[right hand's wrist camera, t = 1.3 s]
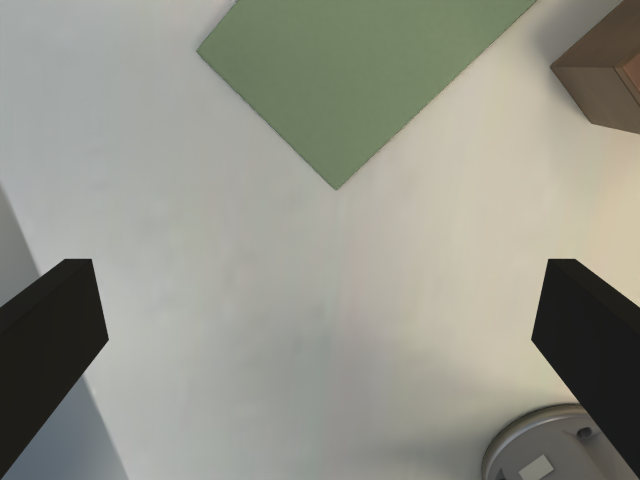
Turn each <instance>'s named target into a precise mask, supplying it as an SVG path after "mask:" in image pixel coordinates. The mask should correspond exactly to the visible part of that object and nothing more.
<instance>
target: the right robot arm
mask: <svg viewBox="0 0 640 480" xmlns="http://www.w3.org/2000/svg"><path fill="white" fill-rule="evenodd" d="M108 340H109V338H108V333H107V329H106V324H105V319H104V315H103V310H102V305H101V300H100V296H99V291H98V286H97V282H96V277H95V272H94V268H93V263H92V259H64V260H63V261H61V262H60V263H59V264H57V265H56V266H55V267H53V268H52V269H51V270H49V271H48V272H47V273H46V274H44V275H43V276H42V277H40V278H39V279H38V280H36V281H35V282H34V283H32V284H31V285H30V286H28V287H27V288H26V289H24V290H23V291H22V292H20V293H19V294H18V295H16V296H15V297H14V298H12V299H11V300H10V301H8V302H7V303H6V304H4V305H3V306H2V307H0V480H1V479H2V477H3V476H4V475H5V474H6V472H7V471H8V470H9V468H10V467H11V466H12V464H13V463H14V462H15V461H16V459H17V458H18V457H19V455H20V454H21V453H22V451H23V450H24V449H25V448H26V446H27V445H28V444H29V442H30V441H31V440H32V439H33V437H34V436H35V435H36V433H37V432H38V431H39V430H40V428H41V427H42V426H43V424H44V423H45V422H46V421H47V419H48V418H49V417H50V415H51V414H52V413H53V411H54V410H55V409H56V408H57V406H58V405H59V404H60V402H61V401H62V400H63V399H64V397H65V396H66V395H67V393H68V392H69V391H70V389H71V388H72V387H73V386H74V384H75V383H76V382H77V380H78V379H79V378H80V377H81V375H82V374H83V373H84V371H85V370H86V369H87V367H88V366H89V365H90V364H91V362H92V361H93V360H94V358H95V357H96V356H97V355H98V353H99V352H100V351H101V349H102V348H103V347H104V345H105V344H106V343H107V342H108ZM531 340H532V342H533V343H534V344H535V345H536V347H537V348H538V349H539V351H540V352H541V353H542V355H543V356H544V357H545V358H546V360H547V361H548V362H549V364H550V365H551V366H552V367H553V369H554V370H555V371H556V373H557V374H558V375H559V377H560V378H561V379H562V380H563V382H564V383H565V384H566V386H567V387H568V388H569V389H570V391H571V392H572V393H573V395H574V396H575V397H576V399H577V400H578V401H579V402H580V404H581V405H562V406H555V407H549V408H545V409H541V410H538V411H535V412H533V413H530V414H528V415H526V416H524V417H522V418H520V419H518V420H516V421H515V422H513V423H512V424H510V425H509V426H507V427H506V428H505V429H504V430H503V431H501V432H500V433H499V434H498V435H497V436H496V438H495V439H494V440H493V441H492V443H491V444H490V446H489V447H488V449H487V451H486V453H485V456H484V458H483V462H482V478H483V480H640V307H638V306H637V305H636V304H634V303H633V302H632V301H630V300H629V299H628V298H626V297H625V296H624V295H622V294H621V293H620V292H618V291H617V290H616V289H614V288H613V287H612V286H610V285H609V284H608V283H606V282H605V281H604V280H602V279H601V278H600V277H598V276H597V275H596V274H594V273H593V272H592V271H591V270H589V269H588V268H587V267H585V266H584V265H583V264H581V263H580V262H579V261H577V260H576V259H548V263H547V268H546V272H545V277H544V282H543V286H542V291H541V296H540V300H539V305H538V310H537V315H536V319H535V324H534V329H533V333H532V338H531Z"/></svg>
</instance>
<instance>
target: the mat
mask: <svg viewBox="0 0 640 480" xmlns="http://www.w3.org/2000/svg"><path fill="white" fill-rule="evenodd" d="M535 1H537V0H238V1H237V2H236V4H235V5H234V6H233V7H232V8H231V10H230V11H229V12H228V13H227V14H226V16H225V17H224V18H223V19H222V21H221V22H220V23H219V24H218V25H217V27H216V28H215V29H214V30H213V31H212V33H211V34H210V35H209V36H208V37H207V39H206V40H205V41H204V42H203V43H202V45H201V46H200V47H199V48H198V49H197V51H196V52H197V53H198V54H199V55H200V56H201V57H202V58H203V59H204V60H205V61H206V62H207V63H208V64H209V65H210V66H211V67H212V68H213V69H214V70H215V71H216V72H217V73H218V74H219V75H220V76H221V77H222V78H223V79H224V80H225V81H226V82H227V83H228V84H229V85H230V86H231V87H232V88H234V89H235V90H236V91H237V92H238V93H239V94H240V95H241V96H242V97H243V98H244V99H245V100H246V101H247V102H248V103H249V104H250V105H251V106H252V107H253V108H254V109H255V110H256V111H257V112H258V113H259V114H260V115H261V116H262V117H263V118H264V119H265V120H266V121H267V122H268V123H269V124H270V125H271V126H272V127H273V128H274V129H275V130H276V131H277V132H278V133H279V134H280V135H281V136H282V137H283V138H284V139H285V140H286V141H287V142H288V143H289V144H290V145H291V146H292V147H293V148H294V149H295V150H296V151H297V152H298V153H299V154H300V155H301V156H302V157H303V158H304V159H305V160H306V161H307V162H308V163H309V164H310V165H311V166H312V167H313V168H314V169H315V170H316V171H317V172H318V173H319V174H320V175H321V176H322V177H323V178H324V179H325V180H326V181H327V182H328V183H329V184H330V185H331V186H332V187H333V188H334V189H335V190H337V189H338V188H339V187H340V186H341V185H342V184H343V183H344V182H345V181H346V180H347V179H349V178H350V177H351V176H352V175H353V174H354V173H355V172H356V171H357V170H358V169H359V168H360V167H361V166H362V165H363V164H364V163H365V162H366V161H368V160H369V159H370V158H371V157H372V156H373V155H374V154H375V153H376V152H377V151H378V150H379V149H380V148H381V147H382V146H383V145H384V144H386V143H387V142H388V141H389V140H390V139H391V138H392V137H393V136H394V135H395V134H396V133H397V132H398V131H399V130H400V129H401V128H402V127H403V126H405V125H406V124H407V123H408V122H409V121H410V120H411V119H412V118H413V117H414V116H415V115H416V114H417V113H418V112H419V111H420V110H421V109H422V108H424V107H425V106H426V105H427V104H428V103H429V102H430V101H431V100H432V99H433V98H434V97H435V96H436V95H437V94H438V93H439V92H440V91H441V90H443V89H444V88H445V87H446V86H447V85H448V84H449V83H450V82H451V81H452V80H453V79H454V78H455V77H456V76H457V75H458V74H459V73H460V72H462V71H463V70H464V69H465V68H466V67H467V66H468V65H469V64H470V63H471V62H472V61H473V60H474V59H475V58H476V57H477V56H478V55H480V54H481V53H482V52H483V51H484V50H485V49H486V48H487V47H488V46H489V45H490V44H491V43H492V42H493V41H494V40H495V39H496V38H497V37H499V36H500V35H501V34H502V33H503V32H504V31H505V30H506V29H507V28H508V27H509V26H510V25H511V24H512V23H513V22H514V21H515V20H516V19H518V18H519V17H520V16H521V15H522V14H523V13H524V12H525V11H526V10H527V9H528V8H529V7H530V6H531V5H532V4H533V3H534V2H535Z"/></svg>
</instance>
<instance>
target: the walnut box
mask: <svg viewBox="0 0 640 480" xmlns="http://www.w3.org/2000/svg"><path fill="white" fill-rule="evenodd" d="M550 68H551V69H552V70H553V72H554V73H555V74H556V76H557V77H558V78H559V80H560V81H561V83H562V84H563V85H564V87H565V88H566V89H567V91H568V92H569V93H570V95H571V96H572V98H573V99H574V100H575V102H576V103H577V104H578V106H579V107H580V108H581V110H582V111H583V113H584V114H585V115H586V117H587V118H588V119H589V121H590V122H591V123H592V124H595V125H600V126H605V127H609V128H614V129H618V130H623V131H627V132H632V133H636V134H640V0H624V1H623V2H622V3H620V4H619V5H618V6H617V7H616V8H615V9H614V10H613V11H611V12H610V13H609V14H608V15H607V16H606V17H605V18H604V19H602V20H601V21H600V22H599V23H598V24H597V25H596V26H595V27H593V28H592V29H591V30H590V31H589V32H588V33H587V34H586V35H584V36H583V37H582V38H581V39H580V40H579V41H578V42H577V43H576V44H574V45H573V46H572V47H571V48H570V49H569V50H568V51H567V52H565V53H564V54H563V55H562V56H561V57H560V58H559V59H558V60H556V61H555V62H554V63H553V64H552V65H551V66H550Z"/></svg>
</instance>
